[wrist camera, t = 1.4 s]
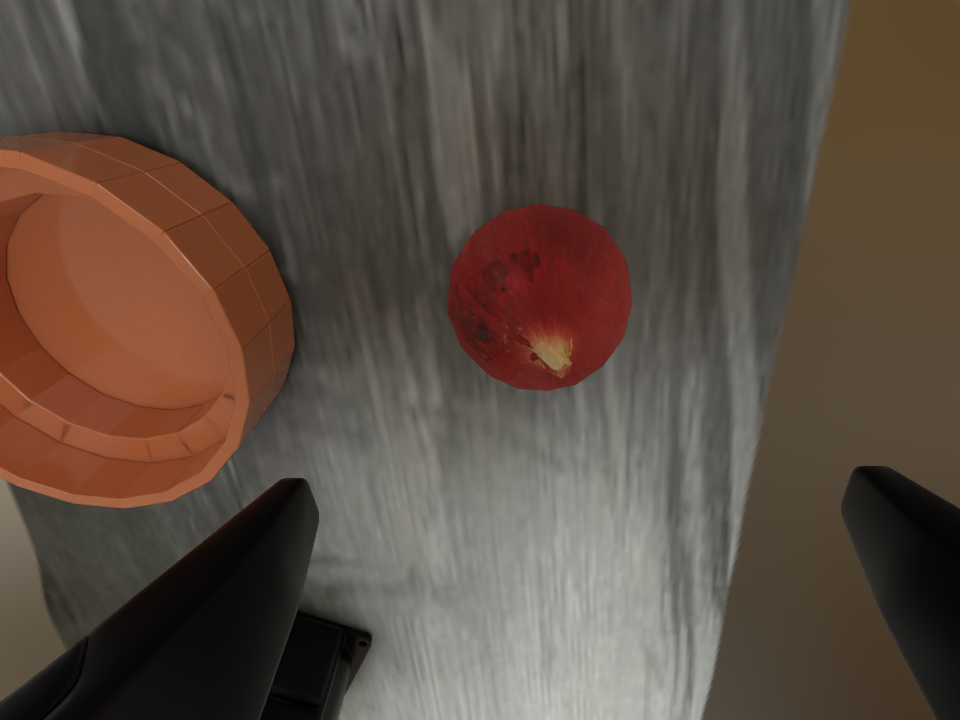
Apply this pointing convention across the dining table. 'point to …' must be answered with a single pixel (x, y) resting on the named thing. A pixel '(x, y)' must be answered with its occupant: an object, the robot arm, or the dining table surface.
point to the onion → (540, 297)
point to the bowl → (128, 322)
